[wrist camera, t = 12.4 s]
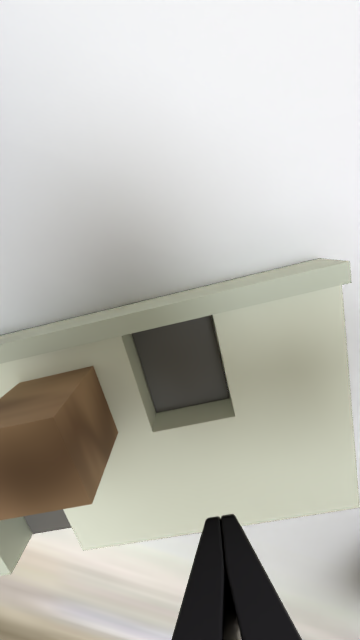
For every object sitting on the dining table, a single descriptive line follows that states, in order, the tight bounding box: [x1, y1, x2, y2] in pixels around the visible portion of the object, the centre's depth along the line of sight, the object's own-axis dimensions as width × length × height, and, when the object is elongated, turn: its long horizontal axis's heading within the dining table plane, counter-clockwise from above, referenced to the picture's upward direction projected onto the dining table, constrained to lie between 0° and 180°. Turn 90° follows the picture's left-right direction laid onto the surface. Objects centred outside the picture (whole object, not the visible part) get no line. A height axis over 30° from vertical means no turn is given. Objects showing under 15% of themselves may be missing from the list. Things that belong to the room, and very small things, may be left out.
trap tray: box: [0, 258, 360, 576], centre depth 16 cm, size 16×25×3 cm, turn 104°
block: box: [0, 366, 118, 520], centre depth 13 cm, size 4×4×4 cm
